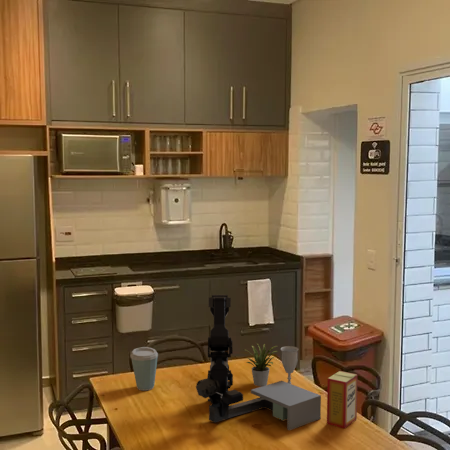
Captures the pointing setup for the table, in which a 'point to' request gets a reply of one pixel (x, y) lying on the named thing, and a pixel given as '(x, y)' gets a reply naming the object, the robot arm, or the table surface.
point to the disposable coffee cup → (144, 367)
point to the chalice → (289, 359)
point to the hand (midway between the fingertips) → (219, 415)
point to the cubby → (292, 402)
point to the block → (279, 412)
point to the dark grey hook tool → (238, 409)
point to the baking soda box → (342, 399)
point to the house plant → (261, 366)
